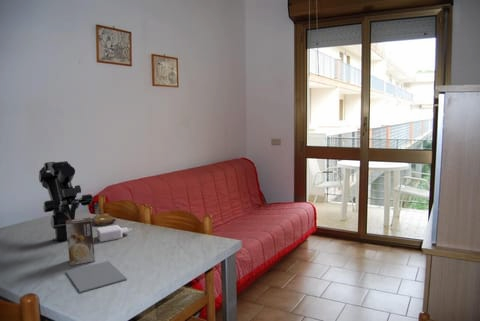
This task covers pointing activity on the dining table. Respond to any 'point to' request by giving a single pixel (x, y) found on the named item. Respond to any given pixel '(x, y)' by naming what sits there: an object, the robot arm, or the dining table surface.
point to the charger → (111, 233)
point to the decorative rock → (103, 219)
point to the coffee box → (80, 241)
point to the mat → (95, 276)
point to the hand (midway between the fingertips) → (73, 221)
